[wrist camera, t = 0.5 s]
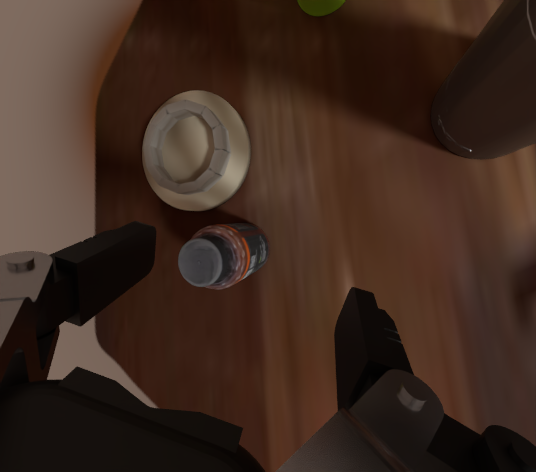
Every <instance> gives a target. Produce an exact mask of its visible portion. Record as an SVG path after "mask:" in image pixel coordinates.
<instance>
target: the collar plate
mask: <svg viewBox="0 0 536 472" xmlns="http://www.w3.org/2000/svg"><path fill="white" fill-rule="evenodd" d="M250 159H251V142H250V137H249V133H248V130H247V127H246V125H245V123H244V121H243V119H242V118H241V116H240V115H239V114H238V113H237V111H236V110H235V109H234V108H233V107H232V106H231V105H230V104H229V103H228V102H226V101H225V100H224V99H223V98H221V97H219V96H218V95H215V94H213V93H210V92H206V91H197V90H196V91H188V92H184V93H181V94H178V95H176V96H174V97H172V98H171V99H169V100H168V101H167V102H165V103H164V104H163V105H162V106H161V107H160V108H159V109H158V110H157V112H156V113H155V114H154V116H153V117H152V119H151V120H150V123H149V125H148V127H147V129H146V132H145V136H144V140H143V147H142V160H143V167H144V171H145V174H146V178H147V180H148V182H149V184H150V186H151V187H152V189H153V190H154V192H155V193H156V194H157V195H158V196H159V197H160V198H161V199H162V200H163V201H165V202H166V203H167V204H169V205H171V206H173V207H175V208H178V209H182V210H189V211H205V210H210V209H213V208H216V207H218V206H220V205H222V204H223V203H225V202H226V201H228V200H229V199H230V198H231V197H232V196H233V195H234V194H235V193H236V192H237V191H238V189H239V188H240V187H241V185H242V183H243V181H244V180H245V177H246V175H247V172H248V169H249V165H250Z"/></svg>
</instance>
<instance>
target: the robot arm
mask: <svg viewBox="0 0 536 472" xmlns="http://www.w3.org/2000/svg"><path fill="white" fill-rule="evenodd" d="M431 122H432V127H433V130H434V133H435V135H436V137H437V138H438V140H439V141H440V142H441V144H442V145H444V146H445V147H446V148H447V149H448V150H450V151H451V152H453V153H455V154H457V155H459V156H463V157H466V158H470V159H492V158H496V157H500V156H504V155H507V154H509V153H512V152H514V151H517V150H519V149H522V148H524V147H527V146H529V145H532V144H535V143H536V0H504V1H503V2H502V4H501V5H500V6H499V8H498V9H497V11H496V12H495V13H494V15H493V16H492V17H491V19H490V20H489V21H488V23H487V24H486V26H485V27H484V28H483V30H482V31H481V32H480V34H479V35H478V36H477V38H476V39H475V40H474V42H473V43H472V45H471V46H470V47H469V49H468V50H467V51H466V53H465V54H464V55H463V57H462V58H461V60H460V61H459V62H458V63H457V65H456V66H455V67H454V69H453V70H452V72H451V73H450V74H449V76H448V77H447V78H446V80H445V81H444V82H443V84H442V85H441V87H440V89H439V90H438V92H437V94H436V95H435V98H434V101H433V104H432V109H431ZM155 245H156V229H155V227H154V226H151V225H147V224H144V223H141V222H137V221H134V222H131V223H129V224H127V225H125V226H122V227H120V228H118V229H114V230H109V231H104V232H102V233H100V234H97V235H95V236H93V238H92V237H90V238H88V239H86V240H84V241H83V242H79V243H76V244H74V245H72V246H69V247H67V248H64V249H62V250H60V251H58V252H55V253H53V254H51V255H47V254H45V253H41V252H34V251H25V252H15V253H10V254H6V255H2V256H0V472H265V470H264V469H263V468H262V466H261V465H260V464H259V463H258V461H257V460H256V459H255V458H254V457H253V456H252V455H251V454H250V453H249V452H248V451H247V450H246V449H244V448H243V447H242V446H241V445H239V441H240V437H241V433H242V430H243V428H241V427H239V426H236V425H233V424H231V423H228V422H225V421H222V420H220V419H217V418H214V417H212V416H209V415H206V414H204V413H201V412H192V411H181V410H169V409H158V408H151V407H149V406H147V405H145V404H144V403H143V402H142V401H140V400H139V399H138V398H137V397H135V396H134V395H133V394H131V393H130V392H129V391H128V390H126V389H125V388H124V387H123V386H122V385H120V384H119V383H118V382H116V381H115V380H112V379H109V378H107V377H104V376H101V375H99V374H96V373H93V372H90V371H88V370H85V369H82V368H80V367H76V368H75V369H74V370H73V371H72V372H70V373H69V374H68V375H67V376H66V377H65V378H64V379H63V380H47V377H48V373H49V369H50V366H51V362H52V359H53V355H54V351H55V347H56V344H57V340H58V336H59V332H60V330H59V325H60V324H61V323H63V322H64V321H66V322H70V323H72V324H75V325H78V326H82V325H83V324H85V323H86V322H87V321H89V320H90V319H91V318H92V317H94V316H95V315H96V314H98V313H99V312H100V311H102V310H103V309H104V308H105V307H107V306H108V305H109V304H111V303H112V302H113V301H114V300H116V299H117V298H118V297H120V296H121V295H122V294H123V293H125V292H126V291H127V290H129V289H130V288H131V287H133V286H134V285H135V284H136V283H138V282H139V281H140V280H142V279H143V278H144V277H145V276H147V275H148V274H149V273H150V271H151V269H152V267H153V265H154V260H155ZM334 338H335V359H336V380H337V401H338V412H337V413H336V414H335V415H334V416H333V417H332V418H331V419H330V420H329V421H327V422H326V423H325V424H324V425H323V426H322V427H321V428H320V429H319V430H318V431H317V432H316V433H315V434H314V435H313V436H312V437H311V438H310V439H309V440H308V441H307V442H306V443H305V444H304V445H303V446H302V447H301V448H300V449H299V450H298V451H297V452H296V453H295V454H294V455H293V456H292V457H290V458H289V459H288V460H287V461H286V462H285V463H284V464H283V465H282V466H281V467H280V468H279V469H278V470H277V471H276V472H536V446H534V445H533V444H532V443H531V442H529V441H528V440H527V439H525V438H524V437H522V436H521V435H519V434H518V433H516V432H514V431H512V430H510V429H508V428H505V427H502V426H498V425H491V426H488V427H487V428H486V429H485V431H484V432H483V433H482V434H481V435H480V434H478V433H476V432H475V431H473V430H471V429H469V428H468V427H466V426H464V425H463V424H461V423H459V422H458V421H456V420H454V419H453V418H451V417H449V416H448V415H446V414H445V413H444V410H443V406H442V404H441V402H440V400H439V398H438V397H437V395H436V394H435V393H434V392H433V390H432V389H431V388H430V387H429V386H428V385H427V384H425V383H424V382H423V381H422V380H420V379H419V378H418V377H416V376H414V374H413V371H412V368H411V366H410V363H409V360H408V358H407V355H406V352H405V350H404V347H403V344H401V339H400V336H399V334H398V331H397V328H396V326H395V323H394V321H393V320H392V318H391V317H390V316H389V315H388V314H387V313H386V311H385V310H382V309H379V308H378V306H377V303H376V300H375V297H374V294H373V293H372V292H368V291H365V290H362V289H358V288H355V287H352V288H351V289H350V291H349V293H348V295H347V298H346V300H345V303H344V305H343V308H342V310H341V312H340V315H339V317H338V320H337V323H336V327H335V334H334Z"/></svg>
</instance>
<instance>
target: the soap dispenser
mask: <svg viewBox="0 0 536 472" xmlns="http://www.w3.org/2000/svg"><path fill="white" fill-rule="evenodd" d="M297 1H298V4H299V6H300V7H301V9H302V10H303V11H304V12H306V13H307V14H309V15H312V16H325V15H328V14H330V13H332V12H334V11H336V10H337V9H338V8H340V7H341V6H342V5H343V4H344V2H345V1H346V0H297Z"/></svg>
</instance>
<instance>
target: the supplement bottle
mask: <svg viewBox="0 0 536 472" xmlns="http://www.w3.org/2000/svg"><path fill="white" fill-rule="evenodd" d="M269 252H270V245H269V241H268V238H267V236H266V234H265V233H264V232H263V231H262V230H261V229H260V228H259V227H257V226H256V225H253V224H249V223H234V224H219V225H210V226H207V227H204V228H202V229H201V230H199V231H198V232H196V233H195V234H194V235H193V237H192V238H191V240H190V241H188V242H187V243H186V244H185V245H184V246H183V247H182V248H181V250H180V253H179V258H178V265H179V269H180V272H181V274H182V276H183V277H184V278H185V279H186V280H187V281H188V282H189V283H190V284H192V285H195V286H198V287H207V288H210V289H225V288H228V287H230V286H232V285H234V284H236V283H237V282H239V281H241V280H242V279H244V278H245V277H247V276H249V275H250V274H252V273H254V272H255V271H257V270H258V269H260V268H261V267H262V266H263V265H264V264H265V263H266V261H267V259H268V256H269Z"/></svg>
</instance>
